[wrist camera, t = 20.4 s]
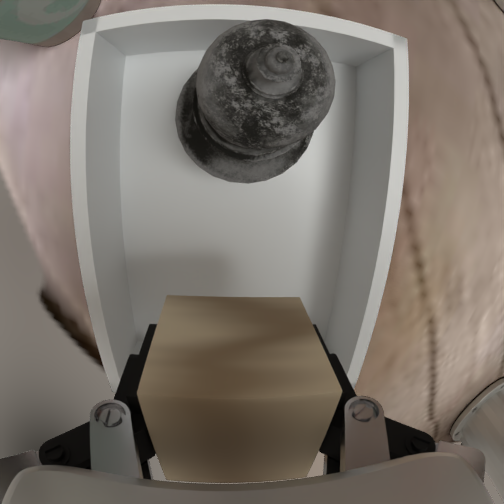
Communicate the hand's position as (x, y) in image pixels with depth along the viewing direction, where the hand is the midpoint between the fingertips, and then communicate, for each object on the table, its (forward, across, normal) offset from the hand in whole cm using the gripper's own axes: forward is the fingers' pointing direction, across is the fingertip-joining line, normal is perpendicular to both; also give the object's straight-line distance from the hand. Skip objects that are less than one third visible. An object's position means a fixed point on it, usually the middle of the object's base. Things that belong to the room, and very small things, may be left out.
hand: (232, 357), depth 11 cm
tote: (+7, 0, -4) cm, 9 cm away
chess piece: (+7, 0, -9) cm, 12 cm away
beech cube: (+1, 0, 0) cm, 1 cm away
